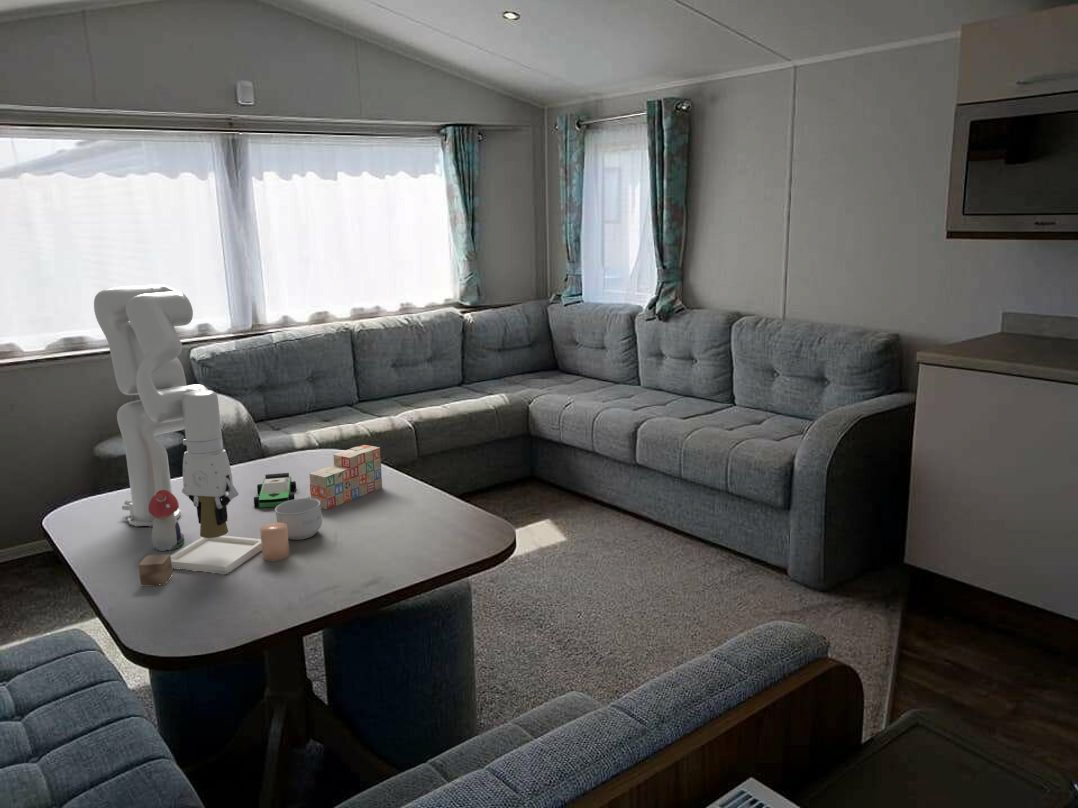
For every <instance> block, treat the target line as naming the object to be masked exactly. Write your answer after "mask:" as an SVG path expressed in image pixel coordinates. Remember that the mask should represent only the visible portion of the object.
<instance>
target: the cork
mask: <svg viewBox="0 0 1078 808" xmlns="http://www.w3.org/2000/svg"><path fill="white" fill-rule="evenodd" d="M198 499H199V501H200V502H201V524H200V528H199V531H200V532H199V535H200V538H201V537H203V538H215V537H220V536H226V535H227V534H228V533H229V528H228V526H227V525H228V524H227V522H225V523H223V524H221V525H217V521H216V514H215V509H216V508H217V505H216V501H215V497H205V496H198ZM221 499H222V496H221Z"/></svg>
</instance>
